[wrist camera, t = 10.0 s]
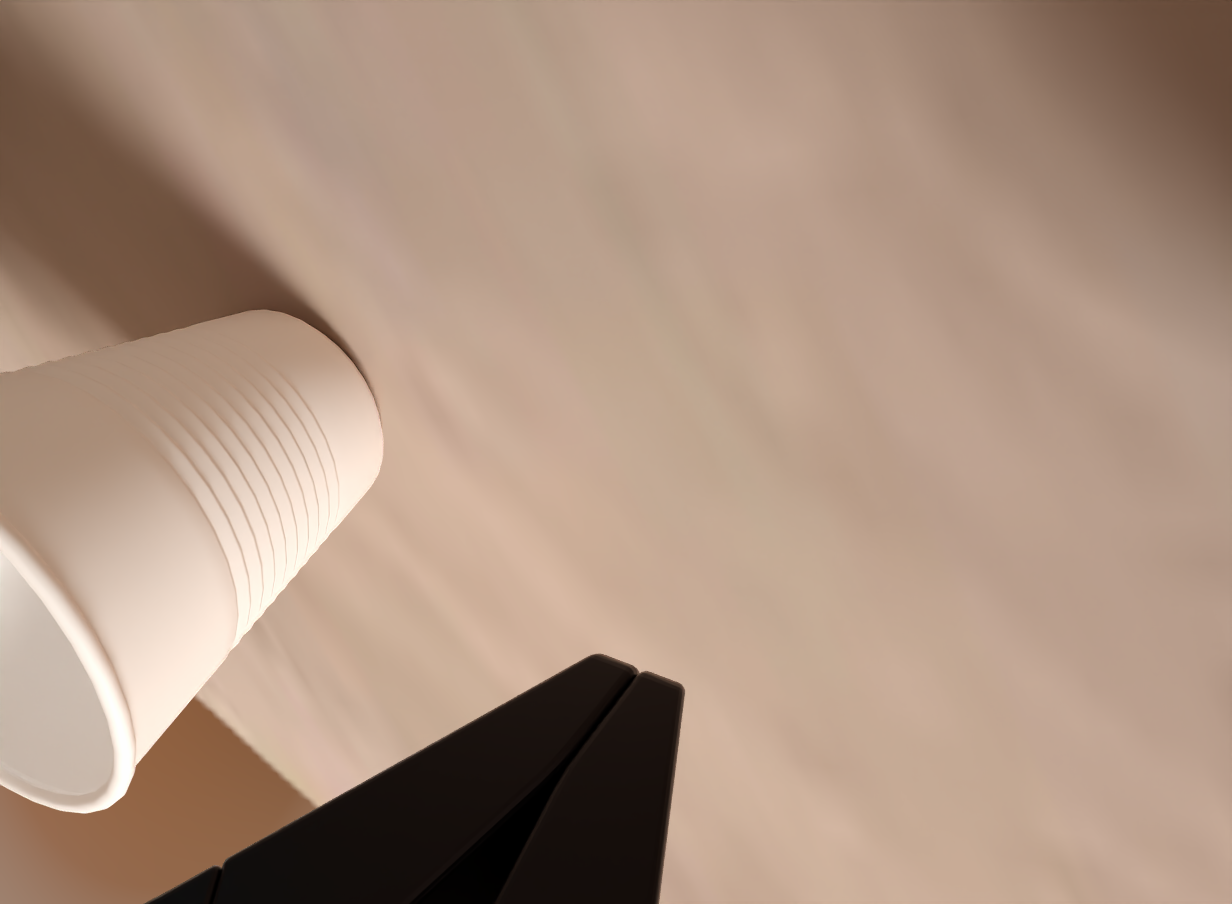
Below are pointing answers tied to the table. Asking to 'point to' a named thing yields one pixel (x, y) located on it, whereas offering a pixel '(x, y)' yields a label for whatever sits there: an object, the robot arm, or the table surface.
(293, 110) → the table surface
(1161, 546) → the table surface
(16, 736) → the cup
